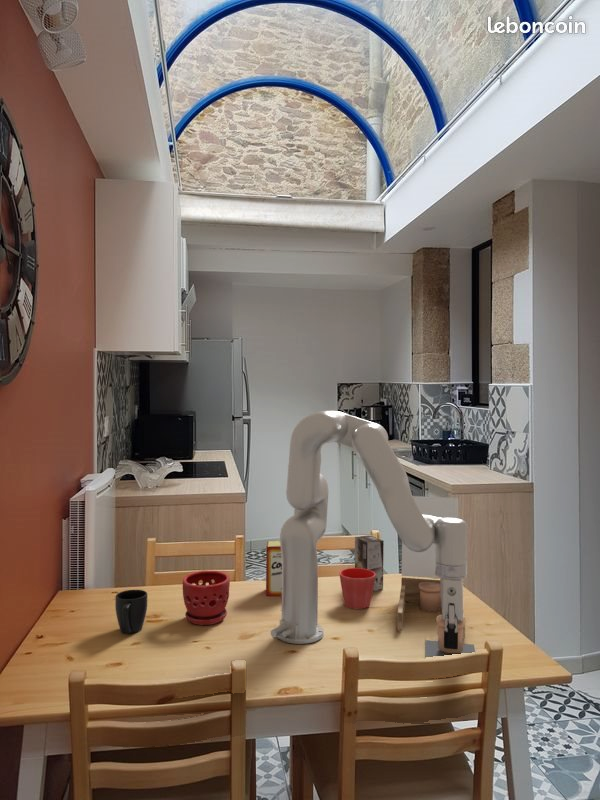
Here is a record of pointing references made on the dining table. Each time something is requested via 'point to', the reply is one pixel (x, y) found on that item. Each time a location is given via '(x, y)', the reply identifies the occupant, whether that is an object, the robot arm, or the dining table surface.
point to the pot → (429, 596)
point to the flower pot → (357, 587)
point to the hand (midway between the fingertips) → (450, 641)
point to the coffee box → (370, 557)
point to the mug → (131, 610)
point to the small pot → (441, 629)
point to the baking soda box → (273, 569)
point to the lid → (425, 561)
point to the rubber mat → (433, 650)
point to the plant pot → (206, 597)
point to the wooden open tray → (412, 596)
